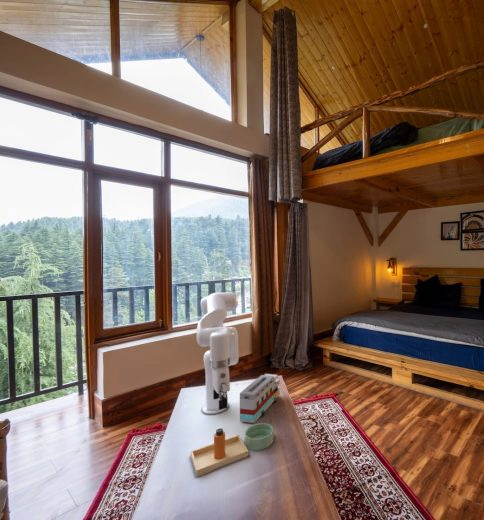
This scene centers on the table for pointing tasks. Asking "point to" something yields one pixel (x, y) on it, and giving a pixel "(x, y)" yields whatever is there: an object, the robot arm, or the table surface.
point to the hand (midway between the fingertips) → (220, 403)
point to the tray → (207, 462)
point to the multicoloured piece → (258, 397)
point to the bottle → (219, 444)
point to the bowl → (259, 436)
